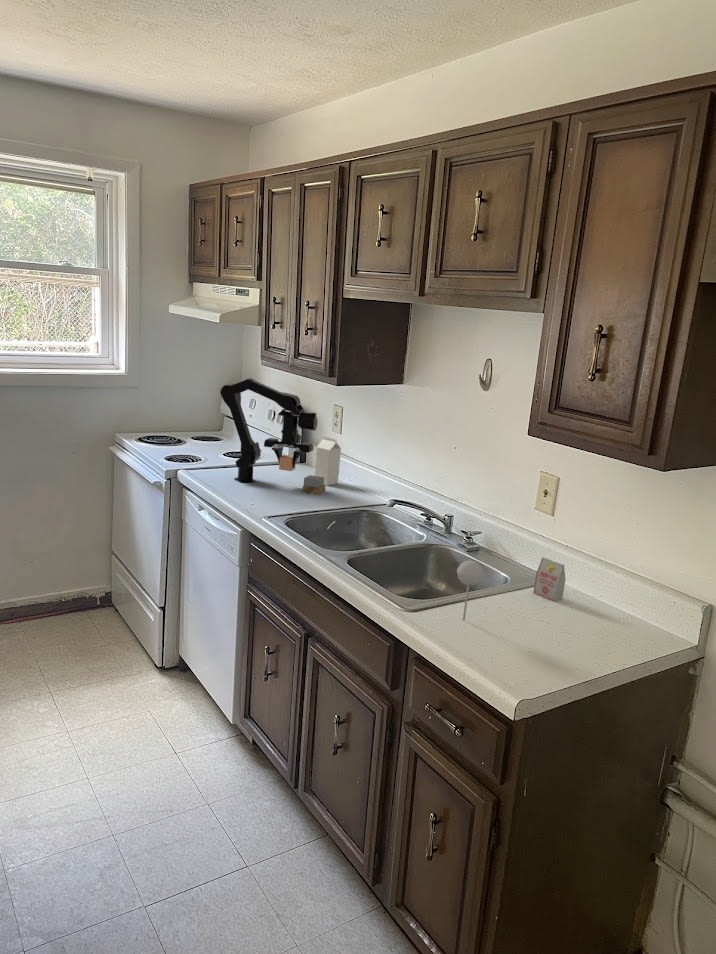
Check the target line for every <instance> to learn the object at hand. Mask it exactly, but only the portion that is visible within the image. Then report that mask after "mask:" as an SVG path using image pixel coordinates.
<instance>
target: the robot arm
mask: <svg viewBox="0 0 716 954" xmlns="http://www.w3.org/2000/svg"><path fill="white" fill-rule="evenodd" d="M248 390H249V391H251V392H254V393H256V394H258V395H260V396H262V397H264V398H267V399H268V400H271V401H273V402H275V403H276V404H277V405H278V406H279V407H281V408H282V409H281V410H280V411H279V412H278V413H277V416H282V428H281V429H282V430H280V431H281V432H280V433H281V440H280V441H279V439H278V438H272V437H269V438H267V439H265V440H264V443H263V447H264V448H271V450H272V451H273V452H274V453H275V454H274V455H276V458H277V461H278V462H279V461H280V457H281V456H283V451H284V448H291V449H295V451H293V454H292V456H293V468H294V467H295V468H296V464H297V463H298V460H299V458H300V456H301V454H303V453H308V454H309V453H311V452H313V451H314V445H313V443H311V442H302V443H301V441H302V435H301V434H300V433H299V430H298V428H299V429H301V430H306V431H315V432H316V430H317V427H318V417H317V412H306V411H305V409H304V407H303V406H302V404H301V400H300V397H299V396H298V395H296V394H293V393H288V392H284V391H283V392H282V391H278V390H277V389H274V388H272V387H271V386H269V385H265V384H263V383H262V382H260V381H257V380H255V379H253V378H246V379H244V380H242V381H239V382H237V383H230V384H225V385H223V386H222V387H221V389H220V396H221V399H222V400H223V402H224V404H226V406H227V407H228V408H229V411H230V414H231V417H232V419H233V420H232V421H233V423H234V426H235V428H236V433H237V436H238V437H239V442H240V456H241V457H239V458H238V459H236V460H235V465H236V467H237V477H234V480H235V481H237V480H238V482H240V483H242V482H243V483H252V482H253V481H255V482H256V479H254V465H256V462H257V461H259V460H260V458H261V456H262V454H261V453H262V450H261V448H260V443H259V441H256V442H255V441H254V440H253V438H252V435H251V432H250V429H249V427H248V423H247V420H246V416H245V414H244V411H243V408H242V395H241V393H243V392H244V393H245V392H246V391H248ZM253 483H254V482H253Z"/></svg>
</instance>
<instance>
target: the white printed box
mask: <svg viewBox="0 0 716 954" xmlns="http://www.w3.org/2000/svg"><path fill="white" fill-rule="evenodd" d="M535 573H536V574H535V580H534V586H533V594H535V595H536V596H540V597H542V598H544V599H546V600H549V601H551V602H553V603H555V602H559V601H562V600H563V597H564V592H565V585H566V574H565V573H566V572H565V564H561V563H559V562H557V561H554V560H551V559H549V558H546V557H544V556H542V557H541V560H540V563H539V566H538V568H537V571H536V572H535Z"/></svg>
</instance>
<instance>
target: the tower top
mask: <svg viewBox="0 0 716 954" xmlns="http://www.w3.org/2000/svg"><path fill="white" fill-rule="evenodd" d="M303 485H305V486H310V487H316V488H318V487H320V486H322V485H324V477H319V476H315V475H313V474H309V475H307V476H305V477H304V478H303Z"/></svg>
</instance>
